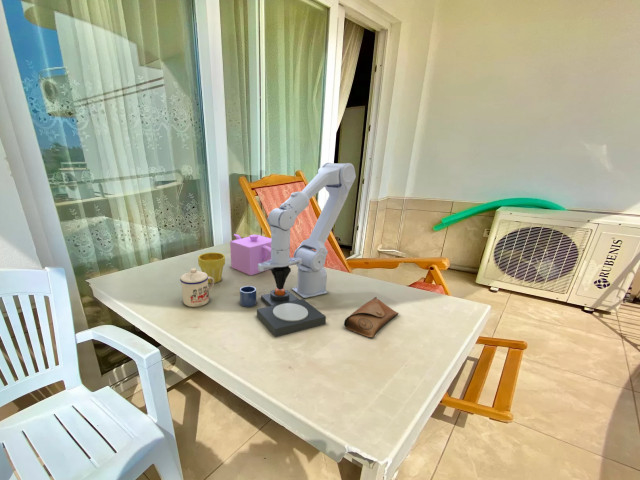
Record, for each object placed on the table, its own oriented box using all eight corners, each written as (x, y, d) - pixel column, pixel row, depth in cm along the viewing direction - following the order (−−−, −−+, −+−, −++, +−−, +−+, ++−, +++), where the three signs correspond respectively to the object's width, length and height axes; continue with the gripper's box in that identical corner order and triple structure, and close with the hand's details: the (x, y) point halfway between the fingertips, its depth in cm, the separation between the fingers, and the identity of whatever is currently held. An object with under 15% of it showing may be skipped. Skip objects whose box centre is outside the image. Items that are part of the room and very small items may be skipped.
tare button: (281, 291, 101) (281, 286, 101) (286, 294, 98) (286, 290, 98) (273, 292, 100) (273, 288, 99) (277, 296, 97) (277, 292, 97)
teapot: (248, 255, 145) (247, 227, 140) (285, 269, 126) (286, 236, 122) (222, 263, 137) (220, 232, 132) (258, 279, 118) (257, 244, 113)
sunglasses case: (374, 338, 78) (363, 314, 78) (350, 340, 83) (340, 318, 83) (400, 312, 89) (391, 291, 90) (378, 316, 95) (369, 296, 95)
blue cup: (252, 298, 103) (252, 284, 101) (259, 305, 98) (258, 291, 96) (237, 301, 101) (237, 287, 99) (243, 308, 96) (243, 294, 94)
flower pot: (231, 277, 120) (230, 254, 117) (215, 287, 112) (214, 262, 109) (210, 273, 126) (209, 250, 122) (194, 281, 117) (192, 258, 114)
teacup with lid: (191, 310, 96) (188, 276, 92) (177, 301, 103) (174, 268, 98) (222, 298, 103) (220, 266, 99) (207, 290, 110) (204, 260, 106)
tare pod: (287, 293, 105) (287, 285, 104) (299, 303, 98) (299, 294, 97) (260, 298, 102) (260, 290, 101) (271, 309, 95) (271, 300, 94)
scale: (302, 305, 96) (302, 297, 95) (325, 324, 86) (326, 315, 85) (256, 316, 91) (256, 307, 90) (275, 337, 81) (275, 327, 80)
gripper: (294, 241, 100) (293, 279, 104) (253, 247, 95) (254, 287, 100) (306, 247, 93) (304, 287, 98) (263, 253, 89) (263, 295, 93)
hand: (279, 287), depth 98 cm, fingers closed
